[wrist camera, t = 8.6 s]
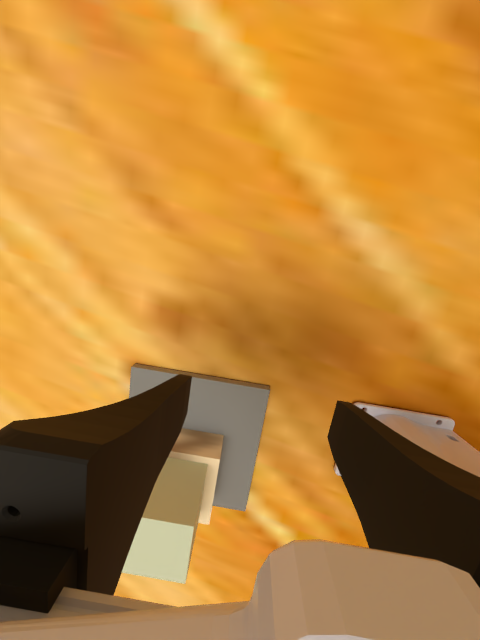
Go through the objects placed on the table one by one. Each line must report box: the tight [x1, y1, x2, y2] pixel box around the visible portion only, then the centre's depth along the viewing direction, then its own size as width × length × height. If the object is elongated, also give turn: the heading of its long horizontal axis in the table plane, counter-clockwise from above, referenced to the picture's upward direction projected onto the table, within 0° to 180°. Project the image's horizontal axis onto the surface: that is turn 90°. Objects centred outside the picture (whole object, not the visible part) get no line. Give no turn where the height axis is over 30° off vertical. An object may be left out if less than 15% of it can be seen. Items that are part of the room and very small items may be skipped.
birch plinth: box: [168, 428, 224, 524], centre depth 22 cm, size 7×7×3 cm
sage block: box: [122, 457, 208, 584], centre depth 18 cm, size 5×5×5 cm
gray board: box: [129, 363, 270, 511], centre depth 23 cm, size 13×14×1 cm
